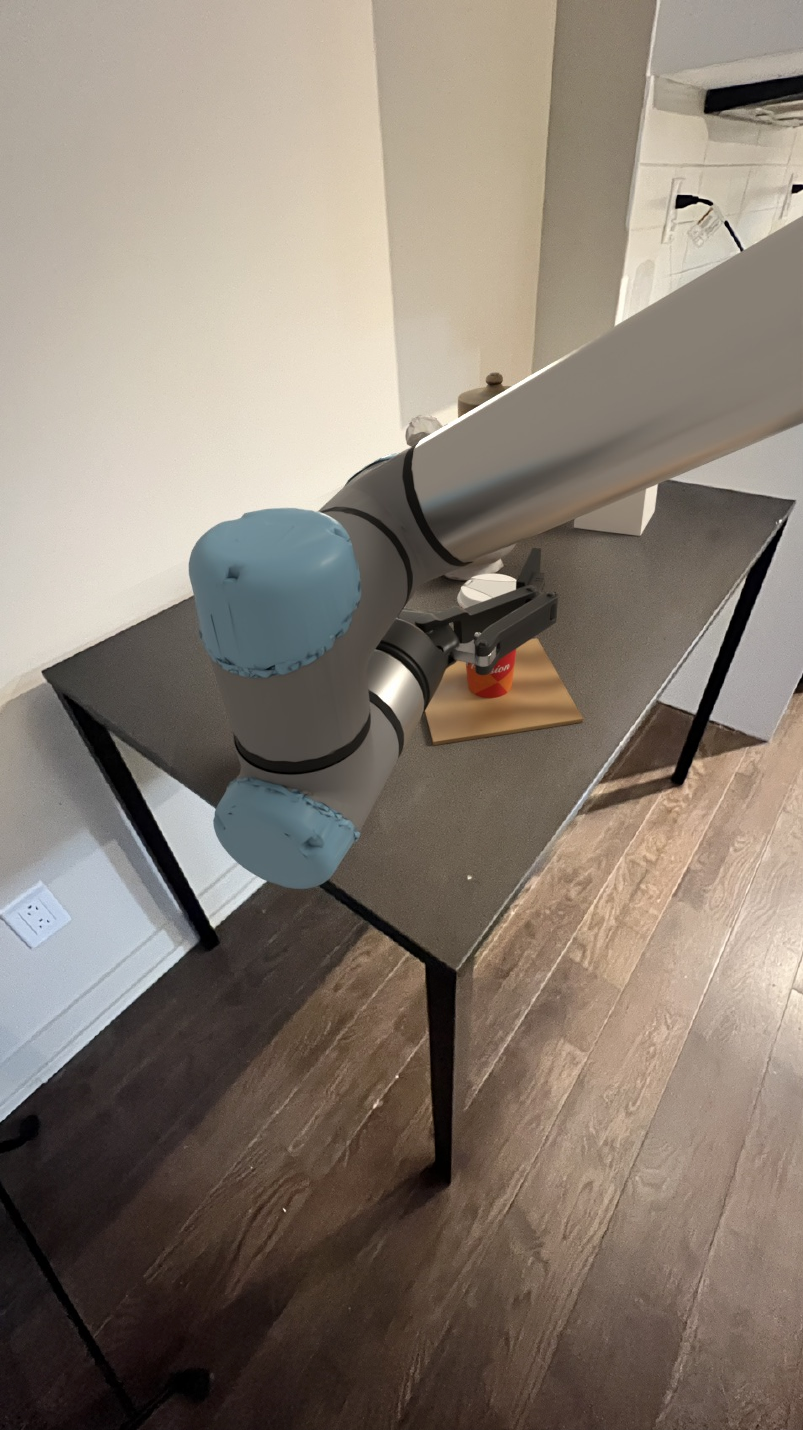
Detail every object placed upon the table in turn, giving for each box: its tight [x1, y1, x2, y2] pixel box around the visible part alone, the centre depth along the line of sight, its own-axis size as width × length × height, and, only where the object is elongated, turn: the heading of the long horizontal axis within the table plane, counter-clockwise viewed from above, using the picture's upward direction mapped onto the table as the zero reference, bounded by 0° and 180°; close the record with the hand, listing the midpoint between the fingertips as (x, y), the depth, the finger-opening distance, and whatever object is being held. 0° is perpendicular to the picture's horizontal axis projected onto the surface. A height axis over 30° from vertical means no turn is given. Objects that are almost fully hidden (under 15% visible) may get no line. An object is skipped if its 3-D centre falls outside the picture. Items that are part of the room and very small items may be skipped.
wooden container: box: [457, 371, 513, 419], centre depth 128 cm, size 15×15×22 cm
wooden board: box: [424, 638, 584, 746], centre depth 80 cm, size 18×18×1 cm
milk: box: [573, 484, 659, 537], centre depth 109 cm, size 12×12×26 cm
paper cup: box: [456, 573, 517, 698], centre depth 76 cm, size 8×8×14 cm
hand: (464, 555), depth 59 cm, fingers open, 13 cm apart
